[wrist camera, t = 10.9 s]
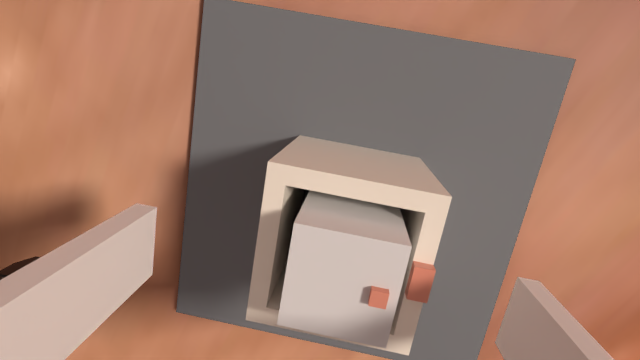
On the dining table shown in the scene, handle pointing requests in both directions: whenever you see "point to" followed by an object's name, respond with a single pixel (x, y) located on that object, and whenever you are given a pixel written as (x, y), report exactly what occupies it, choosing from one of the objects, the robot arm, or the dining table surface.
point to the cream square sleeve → (357, 183)
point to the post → (370, 132)
